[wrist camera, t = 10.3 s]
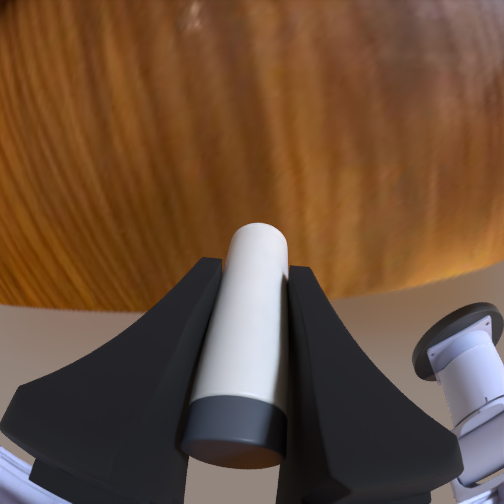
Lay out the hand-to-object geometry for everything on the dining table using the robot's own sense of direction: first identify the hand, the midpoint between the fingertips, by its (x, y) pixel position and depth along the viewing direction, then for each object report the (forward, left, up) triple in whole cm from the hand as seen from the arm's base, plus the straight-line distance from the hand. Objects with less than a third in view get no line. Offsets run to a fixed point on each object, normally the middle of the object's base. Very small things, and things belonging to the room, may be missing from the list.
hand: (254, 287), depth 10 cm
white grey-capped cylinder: (0, 0, -2) cm, 2 cm away
